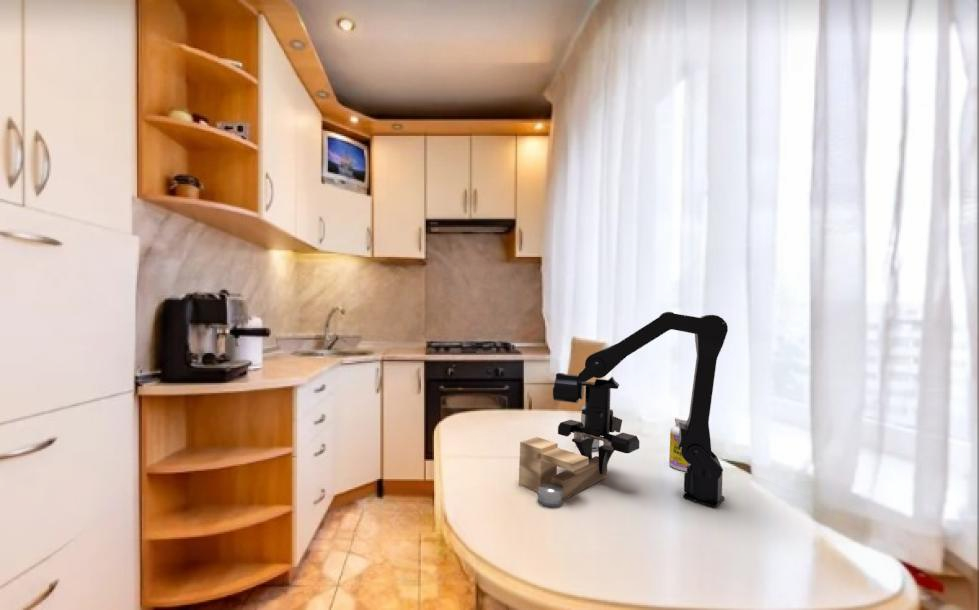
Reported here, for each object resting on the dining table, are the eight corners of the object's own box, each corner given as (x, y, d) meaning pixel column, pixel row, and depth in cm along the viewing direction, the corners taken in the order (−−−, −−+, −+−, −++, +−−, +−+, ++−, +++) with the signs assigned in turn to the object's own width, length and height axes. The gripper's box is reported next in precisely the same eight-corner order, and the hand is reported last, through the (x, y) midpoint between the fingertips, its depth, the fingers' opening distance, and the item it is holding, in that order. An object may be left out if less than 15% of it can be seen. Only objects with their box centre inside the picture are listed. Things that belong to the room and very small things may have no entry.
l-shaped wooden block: (587, 497, 88) (588, 452, 88) (571, 506, 83) (572, 459, 84) (535, 477, 98) (536, 437, 98) (518, 484, 93) (520, 442, 93)
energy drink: (601, 452, 118) (602, 409, 118) (582, 451, 118) (583, 408, 118) (596, 446, 123) (597, 405, 123) (578, 445, 123) (579, 404, 123)
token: (567, 502, 85) (567, 488, 85) (552, 510, 81) (553, 495, 82) (547, 494, 89) (548, 480, 89) (532, 501, 85) (533, 486, 85)
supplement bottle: (668, 469, 106) (669, 418, 106) (670, 461, 112) (671, 413, 112) (697, 474, 103) (698, 422, 103) (697, 466, 109) (699, 417, 109)
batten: (607, 476, 99) (607, 459, 99) (563, 500, 86) (563, 481, 86) (596, 472, 101) (596, 455, 101) (551, 495, 88) (551, 477, 88)
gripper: (651, 408, 97) (649, 475, 97) (582, 394, 110) (580, 453, 110) (628, 415, 89) (626, 488, 89) (557, 400, 102) (555, 463, 102)
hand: (595, 471), depth 98 cm, fingers closed on batten, 3 cm apart
